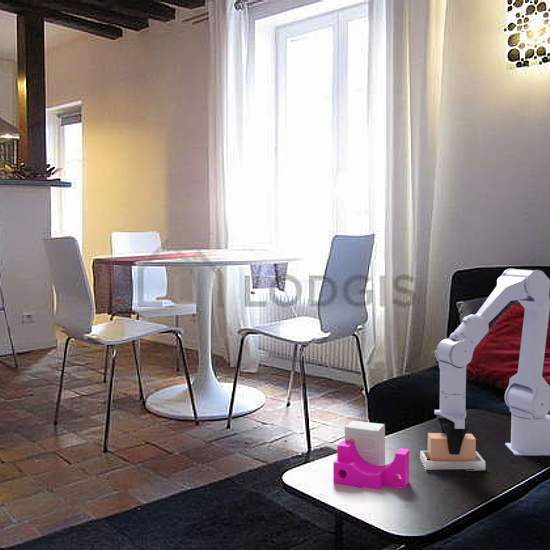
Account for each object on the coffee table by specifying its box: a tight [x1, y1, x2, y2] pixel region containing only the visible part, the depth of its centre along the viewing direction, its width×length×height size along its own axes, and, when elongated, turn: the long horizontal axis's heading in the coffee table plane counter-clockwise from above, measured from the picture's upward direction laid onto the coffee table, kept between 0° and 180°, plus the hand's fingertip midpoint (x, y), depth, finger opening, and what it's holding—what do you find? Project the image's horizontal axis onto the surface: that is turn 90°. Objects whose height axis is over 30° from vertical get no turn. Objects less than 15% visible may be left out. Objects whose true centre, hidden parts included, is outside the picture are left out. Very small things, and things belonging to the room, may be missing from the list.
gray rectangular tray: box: [419, 450, 486, 471], centre depth 147 cm, size 13×7×2 cm, turn 88°
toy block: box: [332, 439, 410, 490], centre depth 139 cm, size 15×6×8 cm, turn 65°
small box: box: [344, 420, 386, 466], centre depth 145 cm, size 8×6×10 cm
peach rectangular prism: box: [427, 432, 477, 461], centre depth 147 cm, size 4×10×5 cm, turn 87°
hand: (451, 450), depth 147 cm, fingers closed on peach rectangular prism, 4 cm apart
